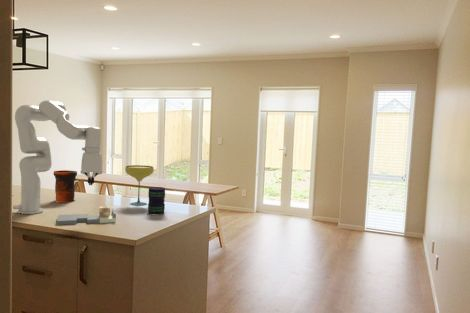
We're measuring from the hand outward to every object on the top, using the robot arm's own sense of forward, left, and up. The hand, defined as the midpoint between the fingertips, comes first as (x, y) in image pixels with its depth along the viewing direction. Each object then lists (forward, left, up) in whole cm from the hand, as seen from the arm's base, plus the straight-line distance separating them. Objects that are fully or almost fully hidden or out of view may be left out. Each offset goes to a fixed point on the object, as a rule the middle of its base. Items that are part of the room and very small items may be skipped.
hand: (90, 184), depth 200 cm
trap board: (-2, 0, -19) cm, 19 cm away
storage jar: (+37, +12, -19) cm, 44 cm away
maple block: (+7, -1, -17) cm, 18 cm away
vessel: (-14, +60, -19) cm, 64 cm away
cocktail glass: (+31, +41, -19) cm, 55 cm away
